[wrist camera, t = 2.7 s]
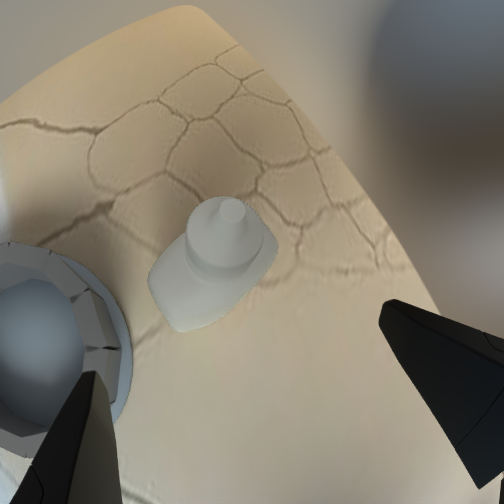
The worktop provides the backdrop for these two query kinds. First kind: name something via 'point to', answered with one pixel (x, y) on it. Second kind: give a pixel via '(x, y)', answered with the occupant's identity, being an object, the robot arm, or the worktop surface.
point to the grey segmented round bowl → (54, 341)
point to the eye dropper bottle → (211, 263)
